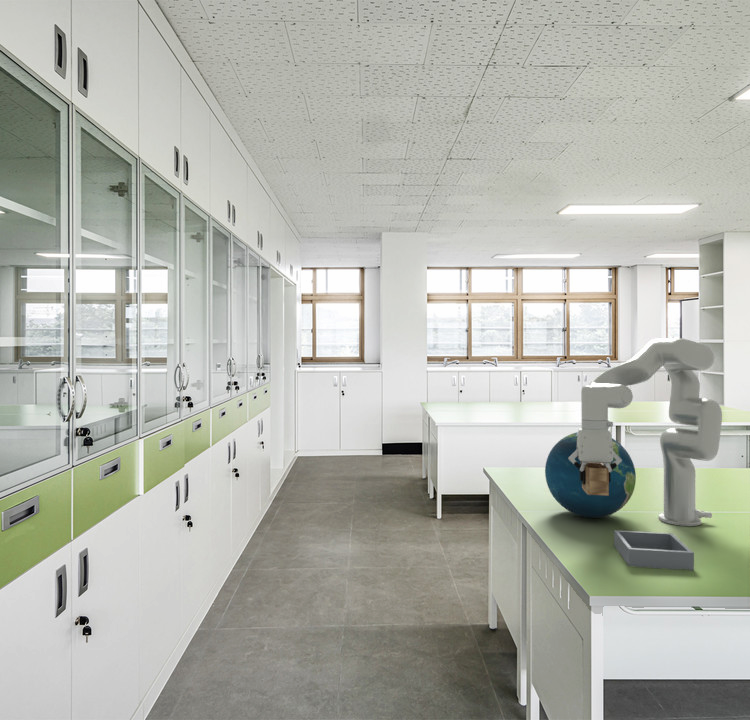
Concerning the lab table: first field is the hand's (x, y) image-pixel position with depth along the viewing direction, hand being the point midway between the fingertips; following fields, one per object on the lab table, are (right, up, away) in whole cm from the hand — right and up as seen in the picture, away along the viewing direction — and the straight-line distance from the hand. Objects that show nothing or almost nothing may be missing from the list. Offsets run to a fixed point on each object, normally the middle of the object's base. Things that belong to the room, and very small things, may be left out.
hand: (594, 483), depth 166 cm
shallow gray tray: (+10, -18, -14) cm, 25 cm away
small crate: (0, -2, 0) cm, 2 cm away
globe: (+8, -17, +25) cm, 31 cm away
